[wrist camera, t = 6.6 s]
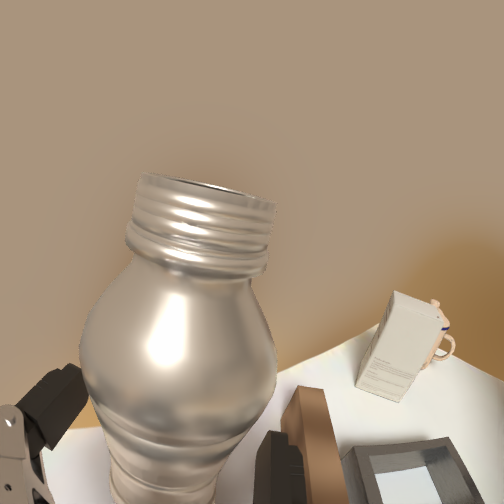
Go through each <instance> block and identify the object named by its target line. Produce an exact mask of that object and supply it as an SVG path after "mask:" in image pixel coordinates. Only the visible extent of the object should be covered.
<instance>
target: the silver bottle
mask: <svg viewBox="0 0 504 504" xmlns="http://www.w3.org/2000/svg"><path fill="white" fill-rule="evenodd" d="M276 206H277V203H276V202H274V201H270V200H268V199H265V198H261V197H258V196H255V195H251V194H247V193H244V192H240V191H236V190H232V189H228V188H224V187H220V186H216V185H211V184H207V183H202V182H198V181H193V180H188V179H183V178H178V177H173V176H167V175H161V174H155V173H147V172H142V173H141V179H140V180H138V185H137V190H136V196H135V201H134V208H133V214H132V220H131V221H129V222H128V224H127V228H126V235H125V242H126V245H127V246H128V247H129V248H130V250H132V251H133V252H134V256H133V260H132V262H131V263H130V264H129V265H128V266H127V267H126V268H125V269H124V270H123V271H122V272H121V273H120V274H119V275H118V276H117V277H116V278H115V279H114V281H113V282H112V283H111V284H110V285H109V286H108V287H107V289H106V290H105V291H104V292H103V294H102V295H101V296H100V298H99V299H98V301H97V302H96V304H95V305H94V306H93V308H92V309H91V311H90V312H89V314H88V316H87V319H86V322H85V326H84V329H83V333H82V336H81V340H80V344H79V360H80V365H81V370H82V375H83V379H84V382H85V385H86V388H87V391H88V394H89V396H90V399H91V402H92V404H93V407H94V409H95V412H96V414H97V417H98V419H99V421H100V424H101V426H102V429H103V432H104V435H105V439H106V442H107V445H108V448H109V451H110V456H111V469H110V474H109V486H110V492H111V495H112V497H113V499H114V501H115V503H116V504H214V503H215V496H216V488H215V485H216V481H217V477H218V474H219V472H220V470H221V468H222V467H223V465H224V464H225V462H226V460H227V459H228V457H229V455H230V454H231V452H232V451H233V450H234V448H235V447H236V446H237V445H238V444H239V442H240V441H241V440H242V439H243V437H244V436H245V435H246V434H247V432H248V431H249V430H250V429H251V427H252V426H253V425H254V424H255V422H256V421H257V420H258V418H259V417H260V416H261V414H262V413H263V411H264V410H265V408H266V406H267V404H268V402H269V401H270V399H271V398H272V396H273V393H274V390H275V387H276V379H277V350H276V347H275V345H274V341H273V338H272V336H271V332H270V329H269V326H268V324H267V321H266V318H265V316H264V314H263V312H262V309H261V307H260V305H259V303H258V301H257V299H256V296H255V294H254V292H253V290H252V288H251V280H252V277H257V276H259V275H261V274H263V273H264V271H265V270H266V266H267V262H268V259H269V252H268V251H267V246H268V243H269V239H270V235H271V231H272V228H273V224H274V220H275V216H276V212H277V211H276V210H275V209H276Z"/></svg>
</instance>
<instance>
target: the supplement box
mask: <svg viewBox="0 0 504 504" xmlns="http://www.w3.org/2000/svg"><path fill="white" fill-rule="evenodd" d="M443 325H444V321H443V319H442V317H441V315H440V314H439V312H438V310H437V308H436V307H435V306H434V305H431V304H429V303H426V302H423V301H421V300H418V299H415V298H413V297H410V296H407V295H404V294H402V293H400V292H397V291H393V293H392V296H391V298H390V300H389V303H388V305H387V308H386V310H385V313H384V315H383V318H382V320H381V322H380V324H379V327H378V329H377V331H376V333H375V335H374V337H373V339H372V341H371V343H370V345H369V347H368V349H367V351H366V353H365V355H364V357H363V359H362V361H361V365H360V369H359V373H358V377H357V381H356V384H355V387H356V388H359V389H362V390H365V391H367V392H370V393H373V394H376V395H378V396H381V397H384V398H387V399H390V400H392V401H395V402H400V401H401V399H402V398H403V396H404V395H405V393H406V392H407V390H408V389H409V387H410V386H411V384H412V382H413V381H414V379H415V377H416V376H417V374H418V372H419V371H420V369H421V367H422V366H423V364H424V362H425V360H426V358H427V357H428V355H429V353H430V351H431V349H432V347H433V345H434V343H435V341H436V339H437V337H438V335H439V333H440V331H441V329H442V327H443Z"/></svg>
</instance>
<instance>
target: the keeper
mask: <svg viewBox="0 0 504 504" xmlns="http://www.w3.org/2000/svg"><path fill="white" fill-rule="evenodd" d="M341 466H342V470H343V475H344V480H345V484H346V489H347V494H348V499H349V504H383V502H382V498H381V495H380V491H379V488H378V484H377V481H376V478H375V475H374V474H379V473H387V472H394V471H401V470H407V469H412V468H417V467H422V466H427V469H428V471H429V473H430V475H431V477H432V480H433V482H434V484H435V487H436V489H437V491H438V494H439V496H440V498H441V501H442V503H443V504H485V503H484V501H483V499H482V497H481V495H480V493H479V491H478V489H477V487H476V485H475V483H474V481H473V480H472V478H471V476H470V474H469V472H468V470H467V468H466V466H465V465H464V463H463V461H462V459H461V458H460V456H459V454H458V452H457V450H456V449H455V447H454V445H453V444H452V442H451V440H450V439H449V437H444V438H439V439H433V440H427V441H420V442H412V443H403V444H392V445H377V446H353V448H352V449H351V450H350V451H349V452H348V453H347V455H346V456H345V457H344V458H343V459H342V460H341Z"/></svg>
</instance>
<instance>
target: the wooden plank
mask: <svg viewBox="0 0 504 504" xmlns="http://www.w3.org/2000/svg"><path fill="white" fill-rule="evenodd" d="M281 432H285V433H287V434H288V442H289V445H295V446H297V447H298V448H299V450H300V452H301V453H302V455H303V463H304V466H303V468H304V473H305V474H304V476H305V484H306V495H307V504H349V499H348V494H347V489H346V484H345V480H344V475H343V470H342V466H341V461H340V457H339V453H338V448H337V444H336V440H335V435H334V431H333V427H332V423H331V419H330V415H329V411H328V406H327V402H326V399H325V395H324V391H323V389H318V388H311V387H304V386H297V388H296V390H295V393H294V395H293V397H292V399H291V401H290V403H289V405H288V406H287V408H286V410H285V412H284V414H283V416H282V418H281Z"/></svg>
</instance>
